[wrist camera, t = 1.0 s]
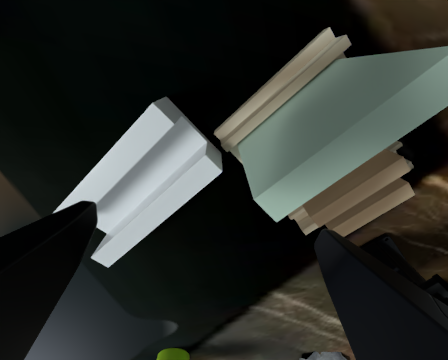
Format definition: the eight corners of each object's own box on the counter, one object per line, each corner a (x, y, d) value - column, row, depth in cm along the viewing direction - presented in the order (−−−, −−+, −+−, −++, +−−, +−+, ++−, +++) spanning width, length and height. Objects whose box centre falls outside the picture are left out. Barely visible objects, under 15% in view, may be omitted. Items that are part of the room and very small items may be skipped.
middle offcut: (367, 149, 20) (410, 170, 16) (298, 197, 23) (319, 227, 18) (361, 138, 20) (403, 156, 15) (291, 188, 22) (310, 217, 18)
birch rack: (396, 162, 22) (416, 171, 20) (300, 223, 26) (308, 238, 23) (323, 29, 17) (340, 22, 14) (214, 131, 20) (213, 138, 18)
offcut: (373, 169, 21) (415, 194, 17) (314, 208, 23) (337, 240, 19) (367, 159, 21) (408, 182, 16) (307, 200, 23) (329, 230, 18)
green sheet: (342, 80, 17) (475, 87, 9) (249, 156, 20) (276, 222, 11) (330, 60, 17) (462, 44, 8) (236, 142, 20) (253, 199, 11)
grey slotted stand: (221, 153, 21) (222, 171, 17) (125, 237, 26) (108, 267, 22) (166, 96, 18) (152, 102, 14) (70, 201, 23) (39, 228, 19)
